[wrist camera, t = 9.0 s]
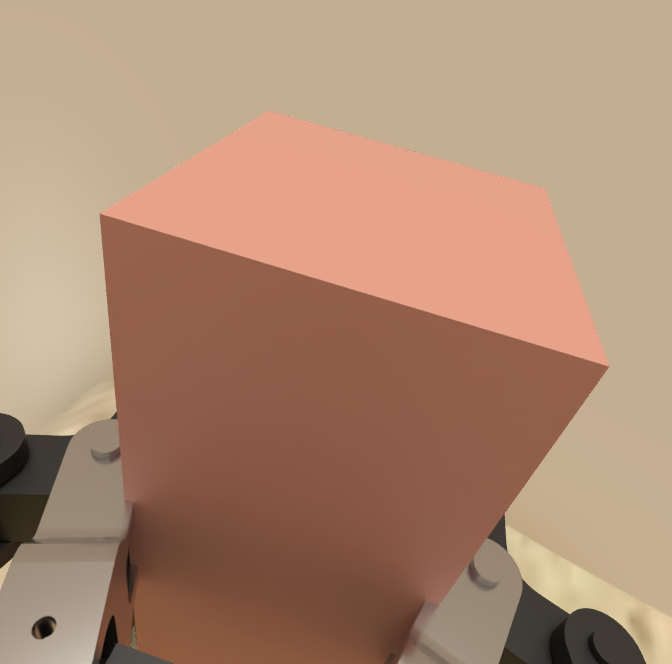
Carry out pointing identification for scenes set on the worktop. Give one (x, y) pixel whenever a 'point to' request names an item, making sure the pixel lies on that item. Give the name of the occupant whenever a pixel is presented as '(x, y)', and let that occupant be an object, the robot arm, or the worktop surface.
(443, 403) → the red block
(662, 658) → the worktop surface
